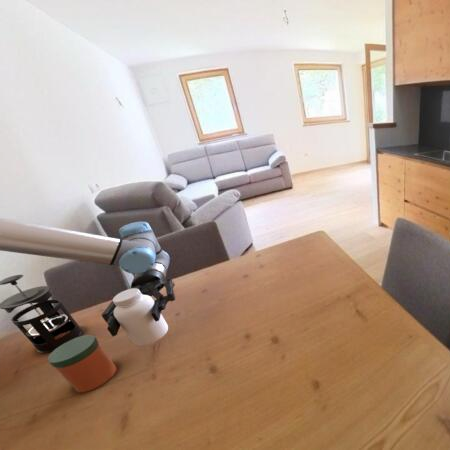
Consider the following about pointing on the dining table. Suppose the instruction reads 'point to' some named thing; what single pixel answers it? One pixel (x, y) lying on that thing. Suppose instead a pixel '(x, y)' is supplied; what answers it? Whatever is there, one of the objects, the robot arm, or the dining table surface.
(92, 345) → the jar lid
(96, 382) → the jar
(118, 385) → the dining table surface
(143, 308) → the pill bottle
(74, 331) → the french press
